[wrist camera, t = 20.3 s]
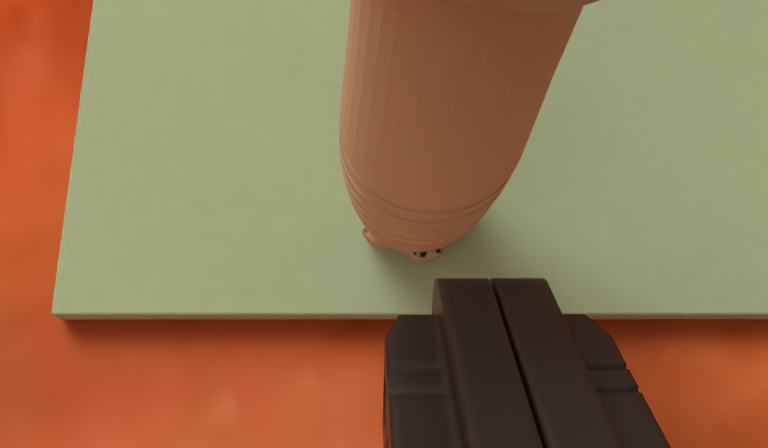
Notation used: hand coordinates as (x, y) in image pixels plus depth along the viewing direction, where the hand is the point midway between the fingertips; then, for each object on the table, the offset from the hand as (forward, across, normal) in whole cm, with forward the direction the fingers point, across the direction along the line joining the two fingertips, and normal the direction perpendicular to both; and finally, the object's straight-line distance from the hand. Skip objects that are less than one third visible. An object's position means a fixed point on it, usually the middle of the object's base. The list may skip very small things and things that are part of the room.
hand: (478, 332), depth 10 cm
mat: (+16, -2, -1) cm, 16 cm away
